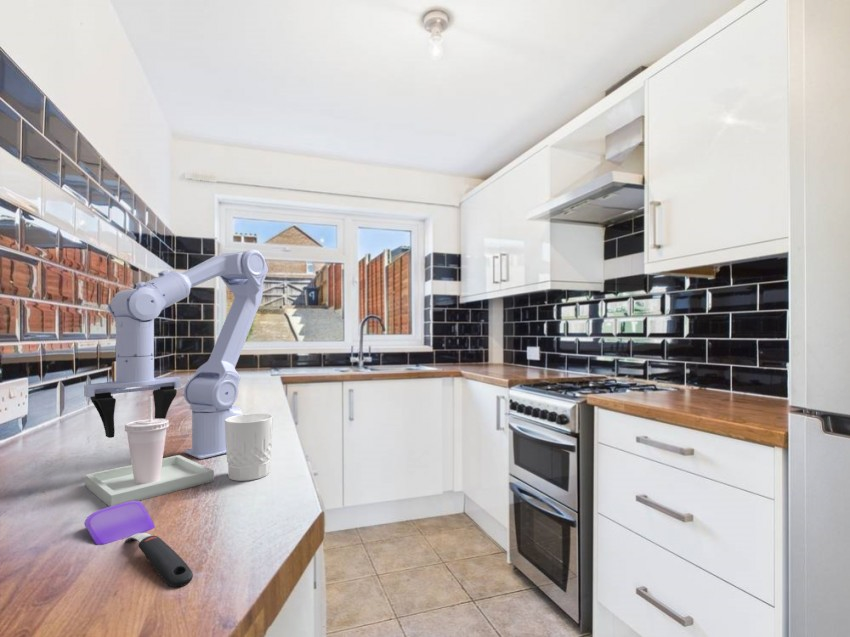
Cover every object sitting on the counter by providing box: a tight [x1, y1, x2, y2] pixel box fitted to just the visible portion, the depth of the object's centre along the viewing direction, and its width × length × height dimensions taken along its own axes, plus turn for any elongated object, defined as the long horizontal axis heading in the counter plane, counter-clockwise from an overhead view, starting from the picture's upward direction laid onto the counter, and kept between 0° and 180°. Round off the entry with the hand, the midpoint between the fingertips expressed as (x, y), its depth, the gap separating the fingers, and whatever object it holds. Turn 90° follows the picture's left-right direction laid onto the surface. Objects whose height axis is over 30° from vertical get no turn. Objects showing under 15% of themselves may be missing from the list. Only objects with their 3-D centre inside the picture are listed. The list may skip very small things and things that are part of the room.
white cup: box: [225, 413, 274, 482], centre depth 79 cm, size 8×8×10 cm
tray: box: [84, 454, 215, 507], centre depth 75 cm, size 15×15×2 cm
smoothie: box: [124, 395, 170, 484], centre depth 75 cm, size 6×6×14 cm
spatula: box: [84, 500, 194, 588], centre depth 53 cm, size 24×7×2 cm, turn 49°
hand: (135, 432), depth 80 cm, fingers open, 7 cm apart
